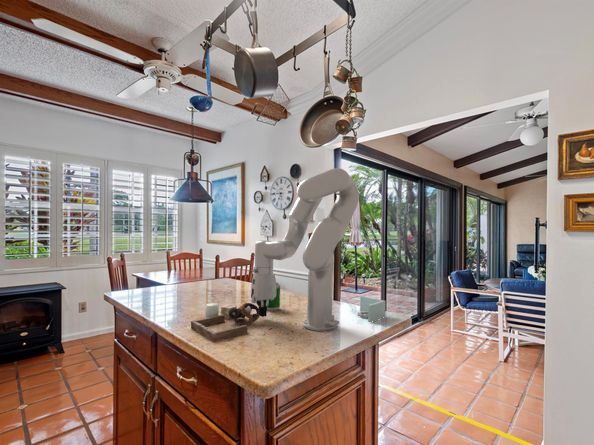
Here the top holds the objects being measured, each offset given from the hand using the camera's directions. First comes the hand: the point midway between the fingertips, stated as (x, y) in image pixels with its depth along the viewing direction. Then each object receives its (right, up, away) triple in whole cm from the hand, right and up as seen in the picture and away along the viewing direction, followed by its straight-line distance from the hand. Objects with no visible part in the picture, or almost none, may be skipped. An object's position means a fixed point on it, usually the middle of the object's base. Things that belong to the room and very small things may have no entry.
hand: (262, 315), depth 124 cm
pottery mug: (-7, -2, -4) cm, 8 cm away
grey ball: (-7, -2, +7) cm, 10 cm away
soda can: (+2, -2, +15) cm, 16 cm away
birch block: (-14, -1, +3) cm, 15 cm away
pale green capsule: (-20, -1, -1) cm, 20 cm away
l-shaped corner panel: (+43, -3, +6) cm, 44 cm away
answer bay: (-14, -1, -14) cm, 20 cm away
